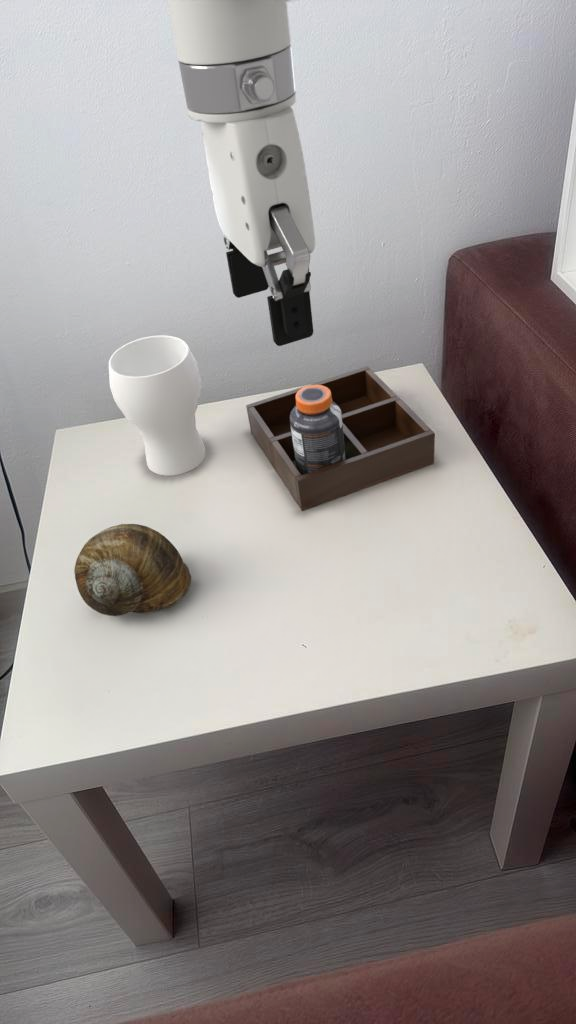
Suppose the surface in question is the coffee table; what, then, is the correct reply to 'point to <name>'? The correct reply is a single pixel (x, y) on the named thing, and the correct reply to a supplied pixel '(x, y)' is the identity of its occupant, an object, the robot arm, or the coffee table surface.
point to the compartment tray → (346, 439)
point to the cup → (160, 400)
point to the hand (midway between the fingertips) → (271, 314)
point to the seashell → (130, 571)
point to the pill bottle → (316, 429)
